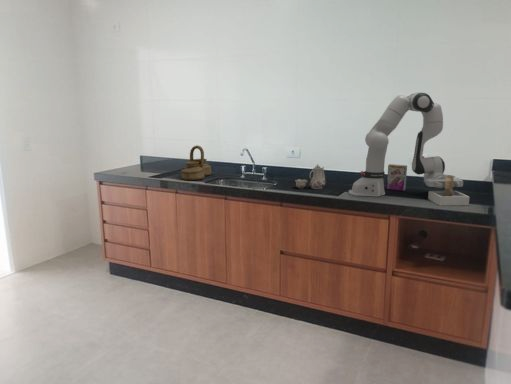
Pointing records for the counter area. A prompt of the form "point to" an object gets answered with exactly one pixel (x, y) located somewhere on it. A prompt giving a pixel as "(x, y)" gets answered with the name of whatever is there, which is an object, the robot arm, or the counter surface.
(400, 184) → the candy bar box
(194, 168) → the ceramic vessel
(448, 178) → the wooden peg
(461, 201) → the bore box
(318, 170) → the chinaware
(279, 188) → the counter surface
